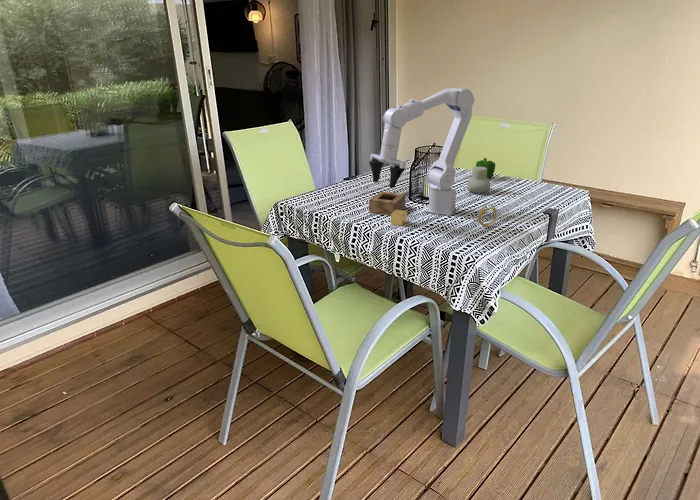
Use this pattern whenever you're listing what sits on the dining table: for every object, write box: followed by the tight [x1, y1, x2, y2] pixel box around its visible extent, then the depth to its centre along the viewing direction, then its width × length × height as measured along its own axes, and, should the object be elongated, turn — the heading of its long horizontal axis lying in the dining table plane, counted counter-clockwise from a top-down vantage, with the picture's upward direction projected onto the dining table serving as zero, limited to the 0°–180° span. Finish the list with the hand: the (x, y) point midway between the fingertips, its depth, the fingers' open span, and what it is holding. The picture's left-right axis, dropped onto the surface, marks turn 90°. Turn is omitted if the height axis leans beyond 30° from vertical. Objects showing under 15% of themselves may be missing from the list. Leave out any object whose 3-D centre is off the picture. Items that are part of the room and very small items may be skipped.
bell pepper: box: [475, 157, 496, 180], centre depth 229 cm, size 8×8×10 cm
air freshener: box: [467, 166, 491, 194], centre depth 210 cm, size 11×8×10 cm
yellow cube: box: [390, 209, 408, 227], centre depth 179 cm, size 4×5×4 cm
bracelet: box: [477, 203, 499, 228], centre depth 173 cm, size 7×3×8 cm, turn 99°
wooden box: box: [368, 191, 407, 217], centre depth 192 cm, size 10×12×5 cm
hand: (383, 184), depth 177 cm, fingers open, 7 cm apart
